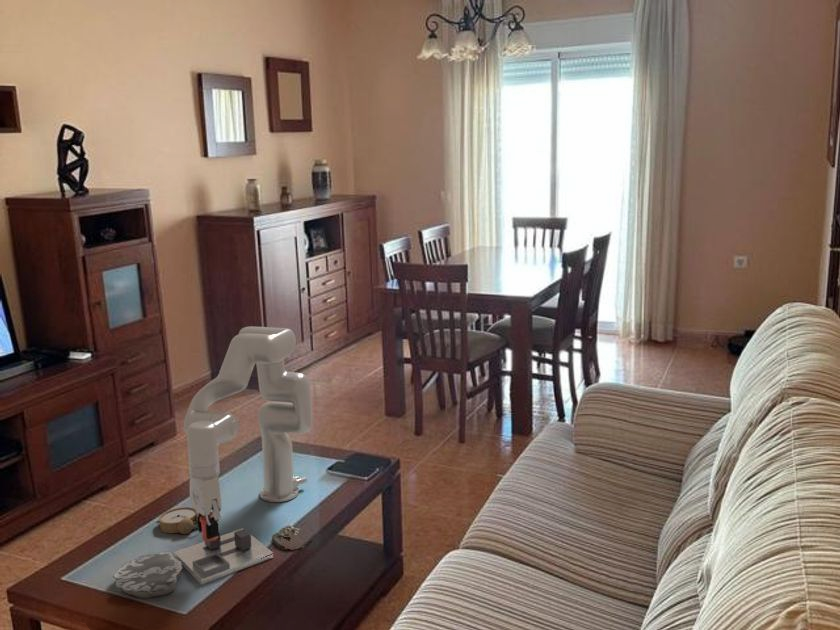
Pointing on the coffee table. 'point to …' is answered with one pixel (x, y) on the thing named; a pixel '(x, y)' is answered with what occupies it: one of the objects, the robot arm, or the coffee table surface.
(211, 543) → the block
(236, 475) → the coffee table surface
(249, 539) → the breaker
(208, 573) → the panel
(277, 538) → the grey rough lump
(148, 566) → the brain slice
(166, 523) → the alarm clock
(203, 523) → the cap
